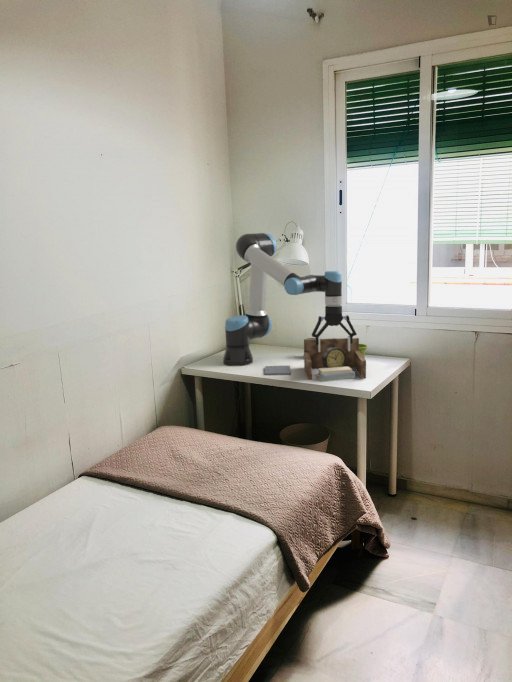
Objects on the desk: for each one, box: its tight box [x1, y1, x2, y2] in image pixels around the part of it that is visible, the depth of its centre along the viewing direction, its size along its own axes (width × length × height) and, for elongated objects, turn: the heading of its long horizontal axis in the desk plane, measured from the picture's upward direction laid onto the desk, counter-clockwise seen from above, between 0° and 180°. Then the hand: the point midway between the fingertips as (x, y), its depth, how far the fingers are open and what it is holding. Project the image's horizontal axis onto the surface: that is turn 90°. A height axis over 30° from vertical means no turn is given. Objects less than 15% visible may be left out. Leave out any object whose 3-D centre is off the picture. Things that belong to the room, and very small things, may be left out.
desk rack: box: [303, 337, 367, 380], centre depth 244 cm, size 26×22×14 cm
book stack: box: [316, 366, 356, 382], centre depth 236 cm, size 16×7×4 cm, turn 104°
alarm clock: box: [322, 337, 346, 368], centre depth 244 cm, size 11×5×16 cm, turn 114°
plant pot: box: [359, 343, 368, 359], centre depth 262 cm, size 9×9×9 cm
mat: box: [264, 365, 292, 376], centre depth 252 cm, size 12×14×1 cm
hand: (334, 351), depth 244 cm, fingers open, 13 cm apart
